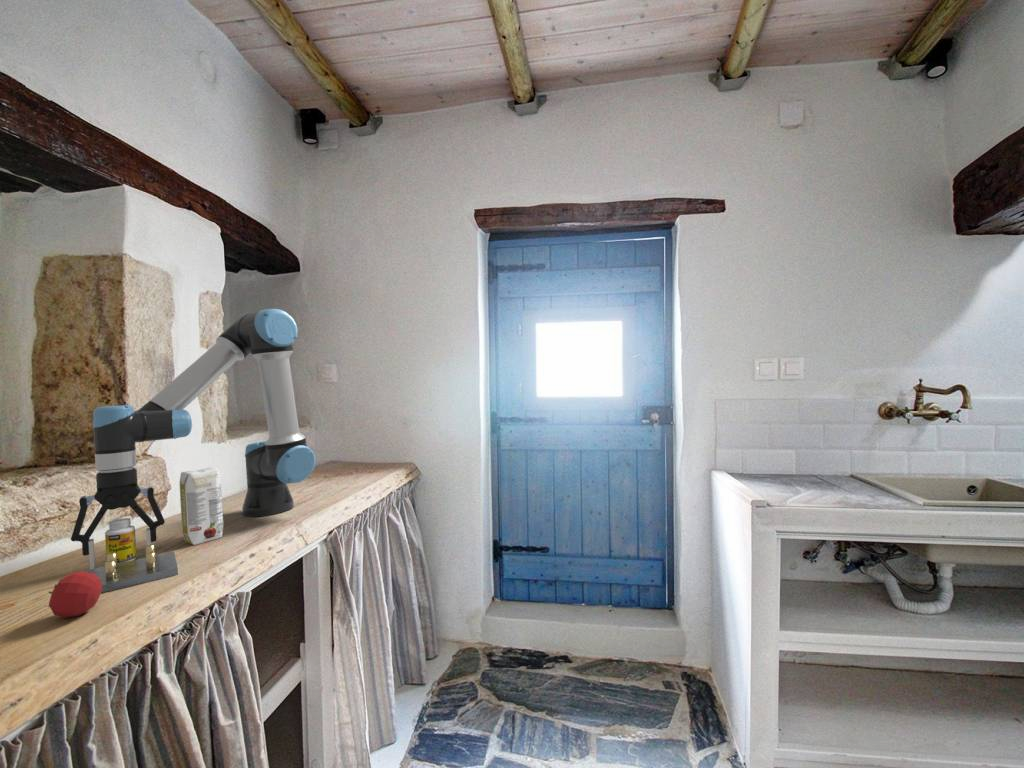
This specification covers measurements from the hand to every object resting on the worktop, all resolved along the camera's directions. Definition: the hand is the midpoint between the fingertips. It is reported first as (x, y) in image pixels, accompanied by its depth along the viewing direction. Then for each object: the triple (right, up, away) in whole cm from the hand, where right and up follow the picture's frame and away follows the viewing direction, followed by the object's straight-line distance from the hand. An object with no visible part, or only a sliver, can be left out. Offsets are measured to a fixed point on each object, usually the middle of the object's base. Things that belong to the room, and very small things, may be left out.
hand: (122, 561), depth 113 cm
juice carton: (+10, 0, +15) cm, 18 cm away
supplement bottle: (0, 0, 0) cm, 0 cm away
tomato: (+13, 0, -26) cm, 30 cm away
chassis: (+10, 0, -9) cm, 13 cm away
